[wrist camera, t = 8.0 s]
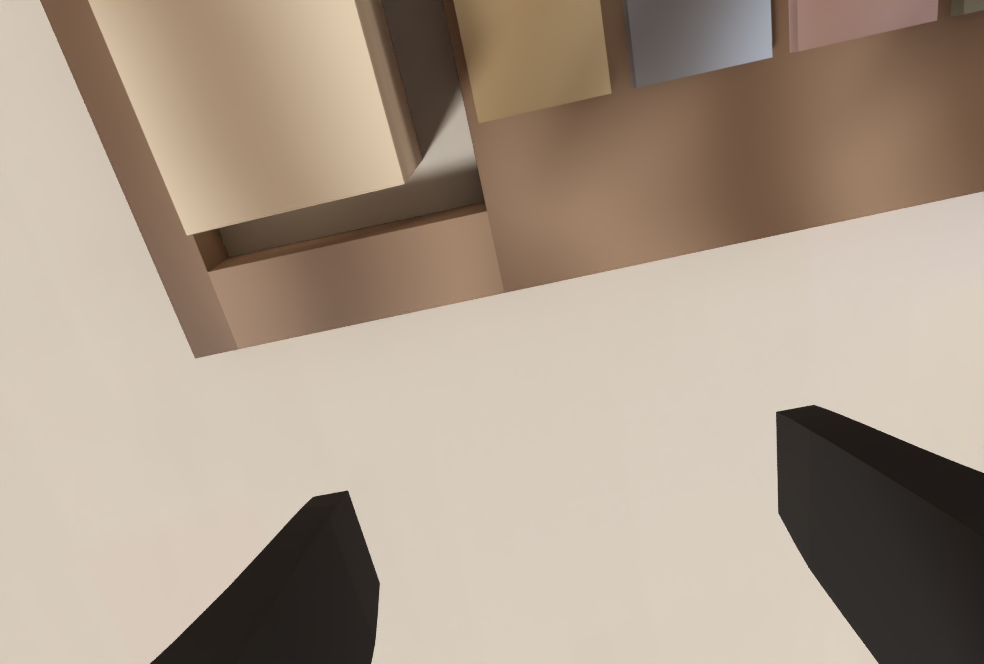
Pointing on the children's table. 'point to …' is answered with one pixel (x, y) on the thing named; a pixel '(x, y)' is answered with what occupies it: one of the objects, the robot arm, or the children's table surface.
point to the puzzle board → (597, 150)
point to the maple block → (263, 101)
